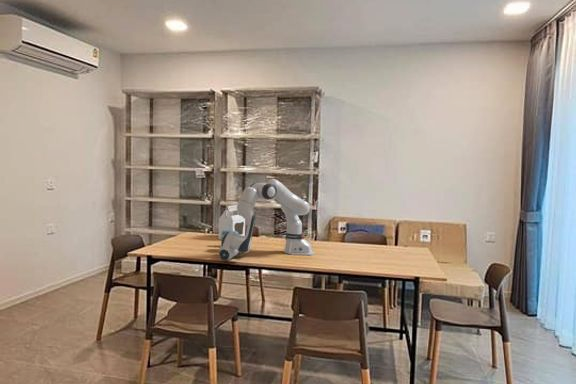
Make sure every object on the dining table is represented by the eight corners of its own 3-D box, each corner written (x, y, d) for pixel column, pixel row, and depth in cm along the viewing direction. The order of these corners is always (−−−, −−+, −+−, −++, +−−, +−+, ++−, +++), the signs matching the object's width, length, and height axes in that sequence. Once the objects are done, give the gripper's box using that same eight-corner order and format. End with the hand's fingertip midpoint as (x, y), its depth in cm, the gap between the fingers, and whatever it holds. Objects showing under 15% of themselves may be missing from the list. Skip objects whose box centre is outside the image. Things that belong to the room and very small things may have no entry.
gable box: (232, 241, 353) (233, 207, 351) (218, 239, 358) (219, 206, 356) (244, 237, 374) (245, 205, 372) (231, 235, 379) (232, 204, 377)
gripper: (247, 246, 288) (252, 242, 302) (217, 244, 292) (224, 240, 306) (246, 255, 289) (252, 251, 302) (217, 253, 293) (224, 249, 306)
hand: (238, 246), depth 304 cm, fingers open, 4 cm apart
